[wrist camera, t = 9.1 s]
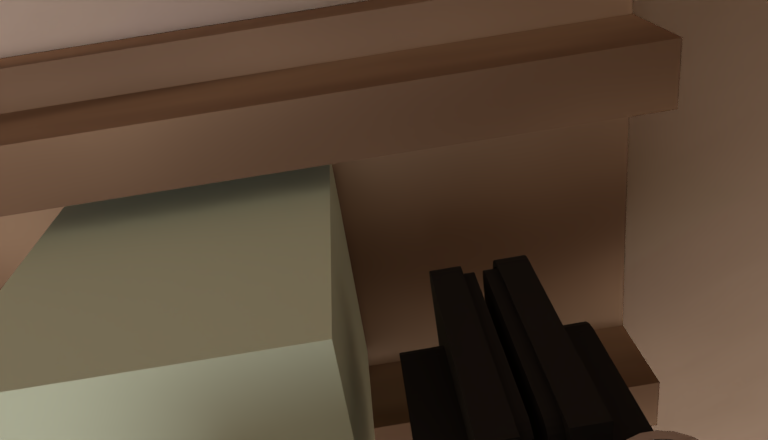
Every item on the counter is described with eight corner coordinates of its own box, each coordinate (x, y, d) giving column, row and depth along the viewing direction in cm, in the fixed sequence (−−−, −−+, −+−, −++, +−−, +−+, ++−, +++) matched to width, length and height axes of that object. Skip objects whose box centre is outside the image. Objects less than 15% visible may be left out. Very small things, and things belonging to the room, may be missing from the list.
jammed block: (76, 191, 13) (-90, 406, 8) (329, 150, 13) (331, 339, 8) (152, 386, 16) (63, 653, 10) (367, 351, 16) (388, 601, 10)
